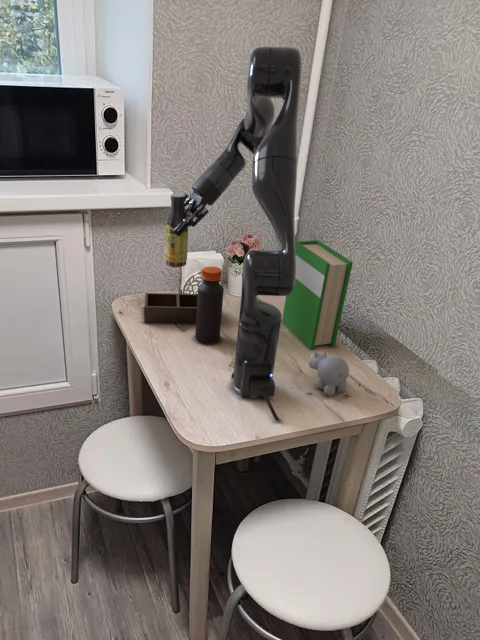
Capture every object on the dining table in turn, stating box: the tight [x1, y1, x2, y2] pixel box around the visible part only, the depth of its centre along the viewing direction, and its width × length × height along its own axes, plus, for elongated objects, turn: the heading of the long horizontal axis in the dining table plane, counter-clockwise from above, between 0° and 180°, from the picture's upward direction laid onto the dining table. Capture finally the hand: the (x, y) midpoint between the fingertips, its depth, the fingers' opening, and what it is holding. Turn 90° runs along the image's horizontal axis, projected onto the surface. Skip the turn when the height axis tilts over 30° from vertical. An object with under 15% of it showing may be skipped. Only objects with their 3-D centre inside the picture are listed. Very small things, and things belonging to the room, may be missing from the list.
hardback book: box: [281, 239, 354, 350], centre depth 143 cm, size 18×7×24 cm, turn 18°
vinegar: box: [194, 265, 225, 345], centre depth 139 cm, size 7×7×20 cm
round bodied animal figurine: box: [308, 349, 350, 397], centre depth 125 cm, size 7×12×8 cm, turn 24°
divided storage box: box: [143, 292, 198, 325], centre depth 154 cm, size 10×19×5 cm, turn 92°
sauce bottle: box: [165, 192, 189, 268], centre depth 147 cm, size 7×6×20 cm
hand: (171, 230), depth 146 cm, fingers closed on sauce bottle, 6 cm apart
